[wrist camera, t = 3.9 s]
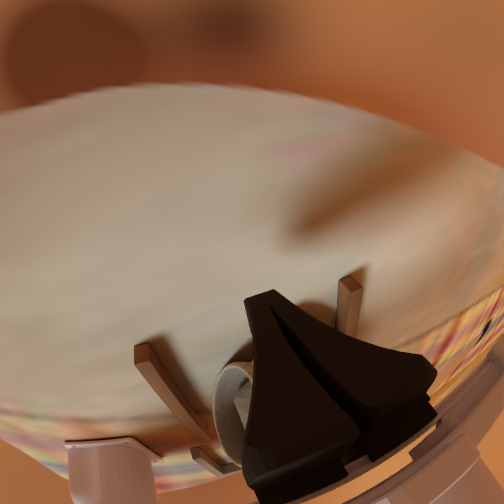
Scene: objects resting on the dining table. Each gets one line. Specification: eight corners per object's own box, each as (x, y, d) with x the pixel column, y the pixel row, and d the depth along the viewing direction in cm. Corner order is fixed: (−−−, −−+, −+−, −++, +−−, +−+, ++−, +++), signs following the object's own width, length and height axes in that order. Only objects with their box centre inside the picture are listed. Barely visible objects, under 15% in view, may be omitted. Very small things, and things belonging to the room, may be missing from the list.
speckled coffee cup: (286, 396, 24) (321, 460, 17) (204, 401, 20) (230, 482, 14) (341, 311, 20) (403, 380, 14) (246, 303, 16) (303, 406, 10)
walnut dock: (198, 430, 22) (201, 443, 21) (134, 346, 15) (134, 364, 14) (336, 380, 25) (343, 390, 24) (350, 275, 18) (363, 287, 17)
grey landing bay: (215, 468, 30) (218, 477, 29) (190, 448, 24) (192, 459, 23) (339, 423, 34) (344, 430, 33) (350, 390, 28) (356, 398, 27)
